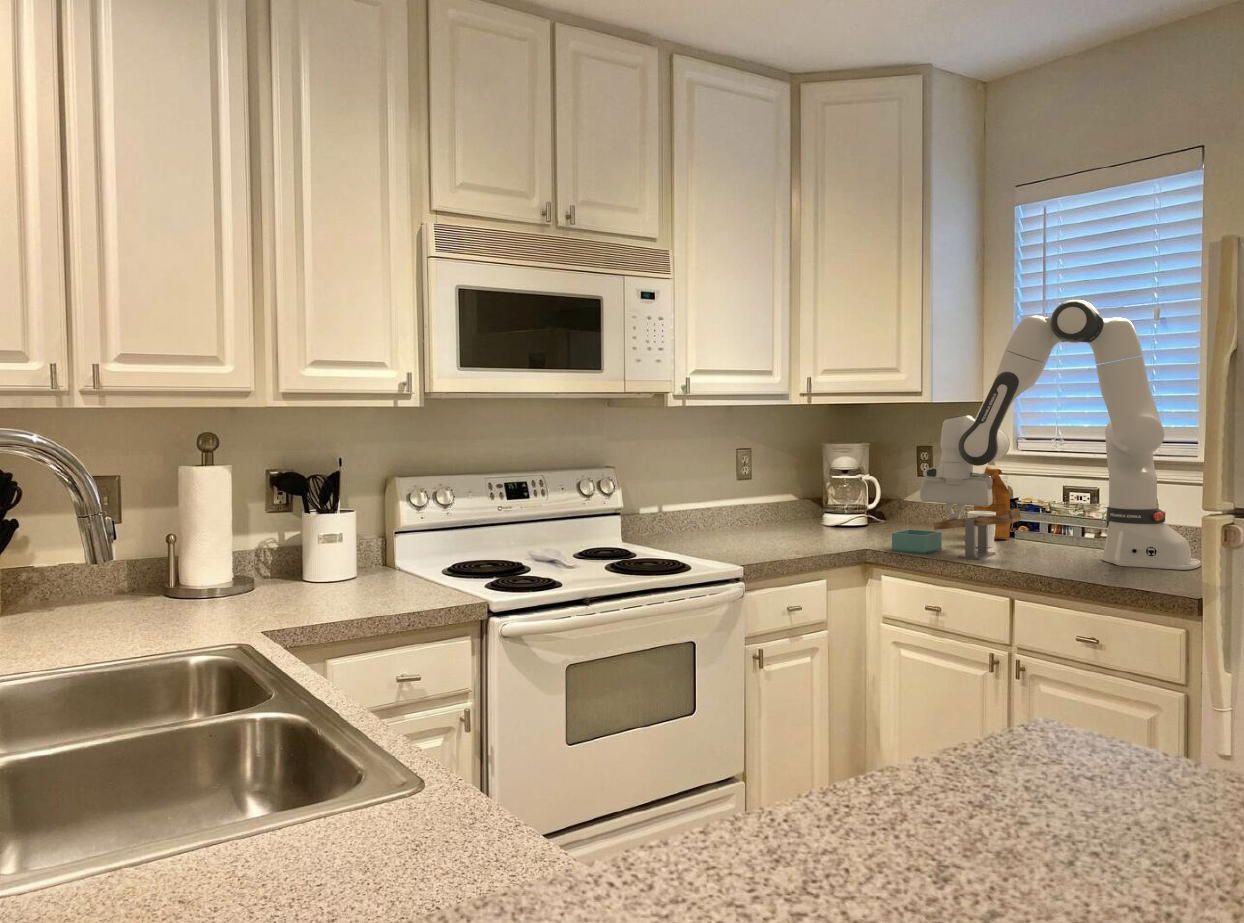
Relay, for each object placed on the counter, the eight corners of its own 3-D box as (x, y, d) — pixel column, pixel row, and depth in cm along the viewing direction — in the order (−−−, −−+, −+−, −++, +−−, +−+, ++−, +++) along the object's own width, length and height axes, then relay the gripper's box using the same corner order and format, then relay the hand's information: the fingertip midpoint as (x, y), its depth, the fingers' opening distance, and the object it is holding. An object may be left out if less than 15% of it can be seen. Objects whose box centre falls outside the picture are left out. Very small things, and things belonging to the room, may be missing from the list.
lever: (1030, 518, 260) (1028, 506, 260) (1012, 523, 251) (1010, 510, 251) (953, 525, 275) (951, 514, 275) (934, 530, 266) (932, 518, 266)
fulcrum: (995, 554, 263) (995, 516, 263) (979, 559, 255) (979, 520, 255) (974, 552, 267) (974, 515, 267) (957, 557, 259) (957, 519, 259)
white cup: (1000, 548, 275) (1000, 513, 274) (972, 548, 275) (972, 514, 274) (990, 543, 282) (990, 510, 282) (963, 544, 283) (963, 511, 282)
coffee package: (1002, 535, 299) (1002, 465, 298) (1013, 541, 287) (1013, 468, 286) (969, 535, 301) (969, 466, 299) (979, 541, 288) (979, 469, 287)
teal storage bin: (941, 549, 274) (941, 531, 273) (925, 554, 266) (925, 535, 266) (908, 546, 281) (908, 528, 280) (892, 550, 273) (891, 532, 273)
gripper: (997, 473, 266) (995, 522, 267) (927, 469, 280) (926, 515, 281) (988, 474, 261) (986, 524, 262) (917, 470, 275) (916, 517, 276)
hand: (955, 519), depth 272 cm, fingers closed
